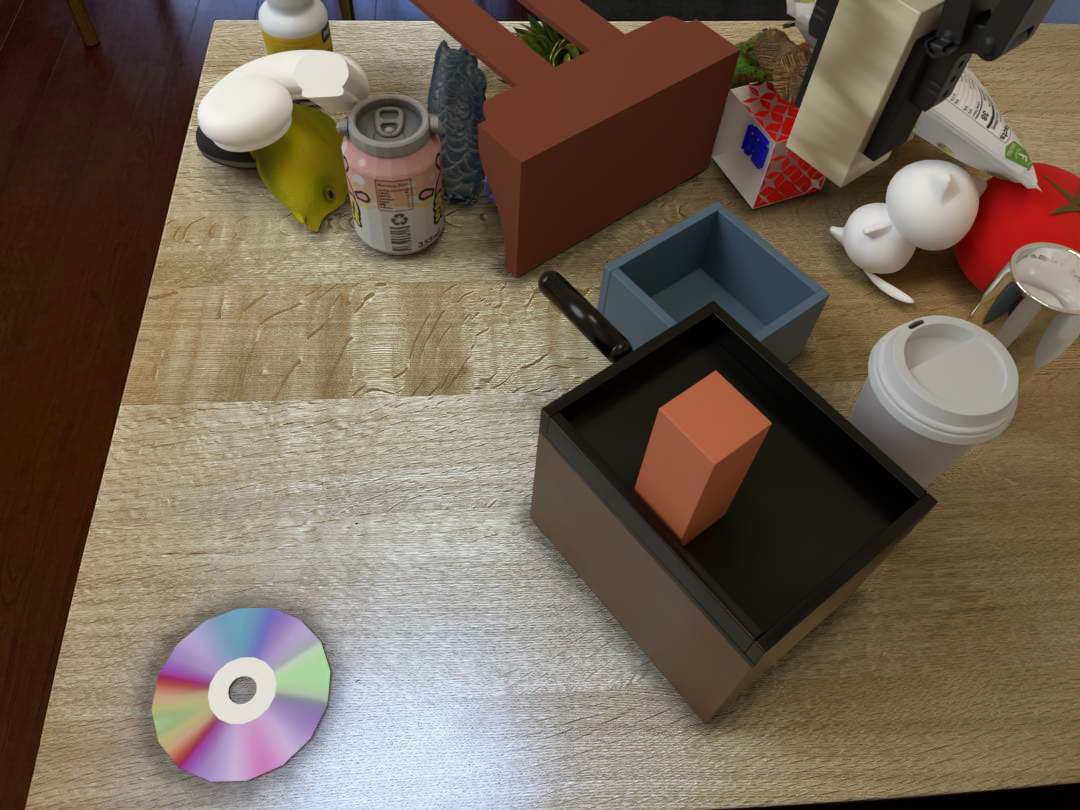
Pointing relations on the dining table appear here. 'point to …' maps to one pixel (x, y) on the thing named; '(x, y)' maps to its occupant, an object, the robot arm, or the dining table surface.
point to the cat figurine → (911, 219)
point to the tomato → (1020, 221)
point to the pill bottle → (295, 27)
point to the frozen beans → (959, 121)
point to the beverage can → (394, 173)
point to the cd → (256, 726)
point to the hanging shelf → (589, 118)
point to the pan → (737, 537)
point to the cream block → (856, 82)
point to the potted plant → (547, 43)
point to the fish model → (458, 120)
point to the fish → (306, 166)
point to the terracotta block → (699, 455)
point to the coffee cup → (935, 393)
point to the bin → (711, 284)
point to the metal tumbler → (1033, 305)
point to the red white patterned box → (762, 147)
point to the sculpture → (277, 96)
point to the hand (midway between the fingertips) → (849, 121)
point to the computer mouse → (226, 152)
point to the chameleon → (772, 62)
